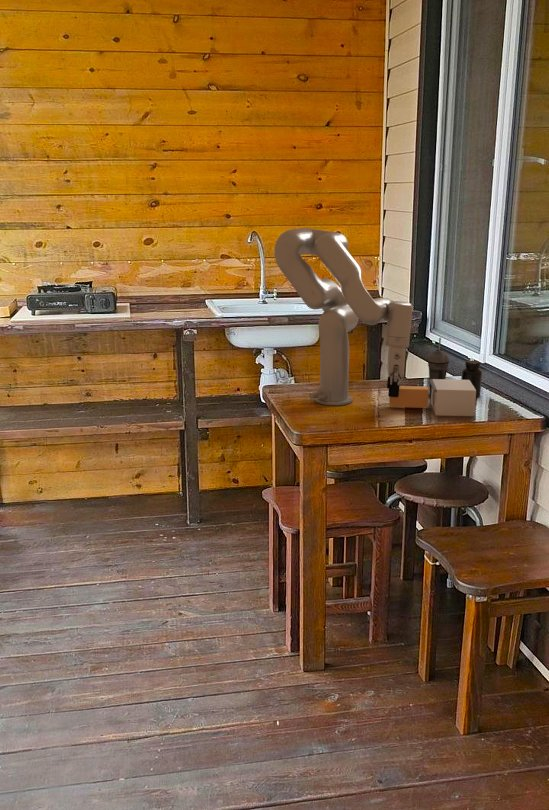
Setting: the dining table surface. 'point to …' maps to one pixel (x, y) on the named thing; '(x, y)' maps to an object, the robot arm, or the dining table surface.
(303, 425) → the dining table surface
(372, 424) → the dining table surface
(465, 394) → the beige rectangular block
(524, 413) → the dining table surface
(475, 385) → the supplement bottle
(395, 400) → the orange rectangular block
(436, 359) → the beverage cup
